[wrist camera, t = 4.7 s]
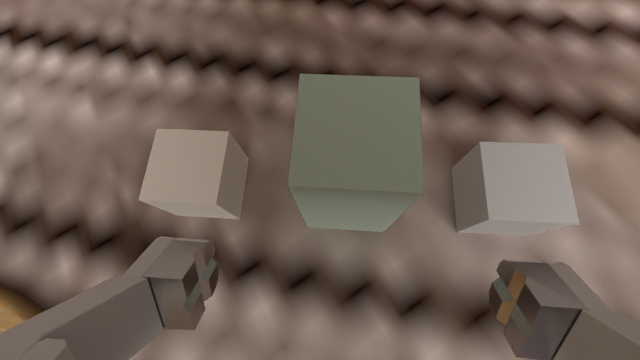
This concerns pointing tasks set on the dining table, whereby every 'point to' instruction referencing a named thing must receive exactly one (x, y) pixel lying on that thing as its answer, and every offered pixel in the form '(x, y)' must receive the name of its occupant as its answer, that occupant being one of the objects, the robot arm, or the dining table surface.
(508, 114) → the dining table surface
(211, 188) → the cream block
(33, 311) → the wooden plate with food
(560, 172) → the grey block
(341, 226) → the sage-green pillar
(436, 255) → the dining table surface
